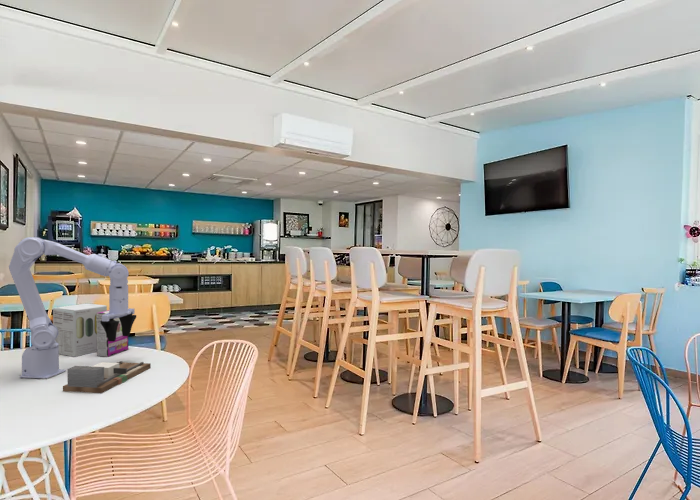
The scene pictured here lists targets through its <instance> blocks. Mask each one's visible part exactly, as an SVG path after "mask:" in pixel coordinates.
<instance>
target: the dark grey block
mask: <svg viewBox="0 0 700 500" xmlns="http://www.w3.org/2000/svg"><path fill="white" fill-rule="evenodd" d="M66 371H67V375H66V376H67V384H68V386H71V387H92V388H97V387H99V386H101V385H103V384H104V367H91V366H88V365H87V366H86V365H85V366H84V365H74V366H72V367H69V368H67V370H66Z"/></svg>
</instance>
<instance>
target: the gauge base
mask: <svg viewBox="0 0 700 500" xmlns="http://www.w3.org/2000/svg"><path fill="white" fill-rule="evenodd" d="M116 363H119V368H127V374H116V375H114V376H111V377H109V378H104V384H103V385H101V386H99V387H97V388H92V387H71V386H68V383H67V384H64V385H63V386H62V392H68V393H69V392H70V393H89V394H90V393H91V394H92V393H94V394H103V393H105V392H107V391H109V390H111V389H113V388H115V387H117V386H119V385H121V384H123V383H125V382H127V381H128V380H130V379H133V378H134V377H136V376H137V375H140V374H142V373H144V372H145V371H147V370H149V369H151V366H152V365H151V362H150V363H146V362H144V361H142V362H123V360H121V361H117V362H116Z"/></svg>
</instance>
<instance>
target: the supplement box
mask: <svg viewBox="0 0 700 500" xmlns="http://www.w3.org/2000/svg"><path fill="white" fill-rule="evenodd" d="M103 311H108V305H105V304H98V303H97V304H95V303H88V302H87V303H86V302H85V303H80V304H71V305H65V306H59V307H58V306H57V307H52V324H53V325H54V326H56V327H57V329H58V336H57V338H56V339H55V341H56V342H57V343H58V344H59V355H62V356H63V355H64V356H68V357H73V358H77V357H80V356H84V355H85V356H86V355H88V354H92V353H96V352H97V326H96V313H99V312H103Z"/></svg>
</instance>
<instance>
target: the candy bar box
mask: <svg viewBox="0 0 700 500" xmlns="http://www.w3.org/2000/svg"><path fill="white" fill-rule="evenodd" d="M107 313H109V309H107V311H103V312H99V313H96V326H97V357H102V358H105V357H106V358H109V357H112V356H115V355H118V354H120V353H122V352H126V351H128V350H129V336H123V335H122V326H121V322H119V324H118V327H117V332H116V340H115V341H108V338H107V335H106V332H105V330H104V328H103V326H102V325H101V324H100V321H101V320H102V315H105V314H107ZM114 320H115V321H120V319H119V318H116V319H114Z"/></svg>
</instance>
